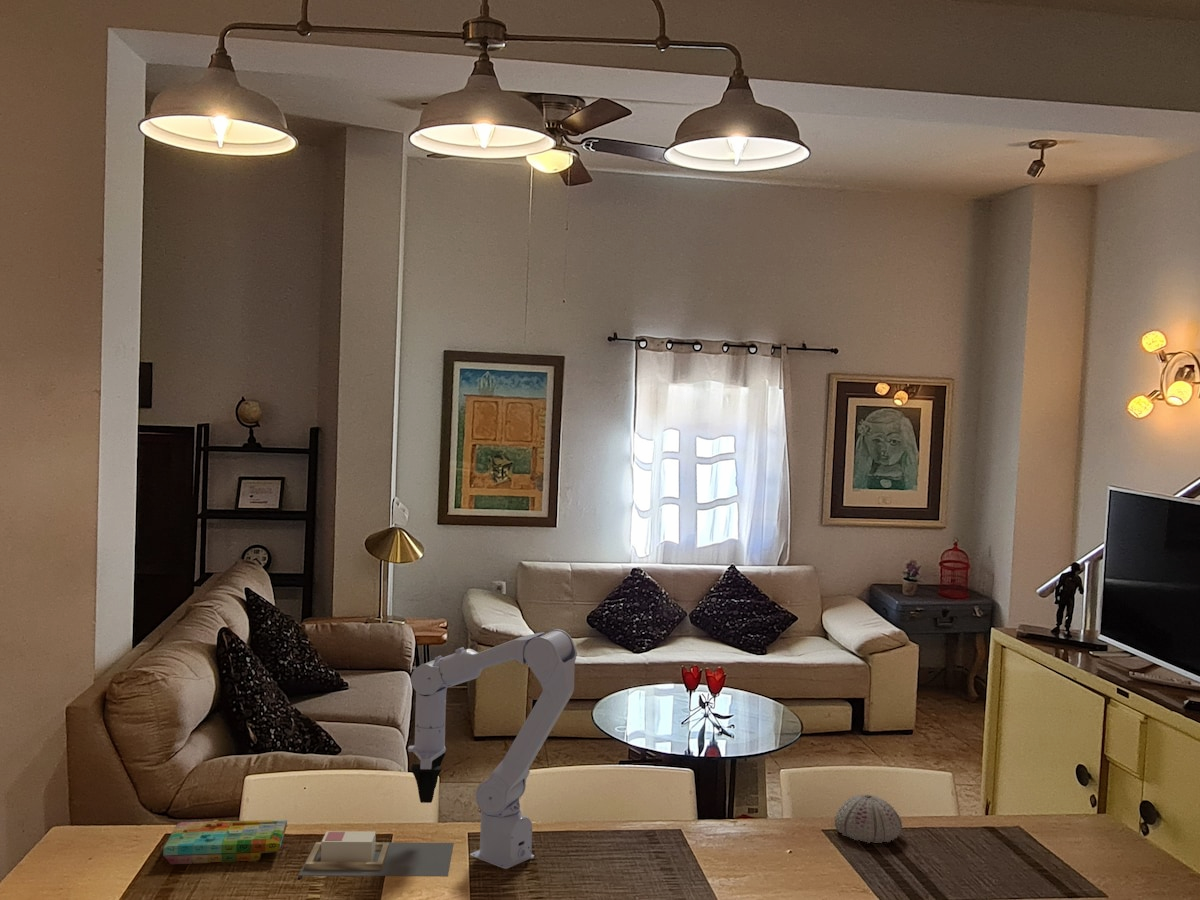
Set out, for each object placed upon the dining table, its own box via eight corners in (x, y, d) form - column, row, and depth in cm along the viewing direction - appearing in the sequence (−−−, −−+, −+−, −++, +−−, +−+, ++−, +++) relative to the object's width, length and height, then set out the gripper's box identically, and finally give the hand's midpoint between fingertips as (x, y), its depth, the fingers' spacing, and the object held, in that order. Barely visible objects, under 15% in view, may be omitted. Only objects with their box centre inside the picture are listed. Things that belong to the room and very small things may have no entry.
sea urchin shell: (875, 854, 205) (876, 813, 205) (819, 832, 215) (820, 793, 215) (914, 838, 213) (916, 799, 213) (859, 818, 224) (860, 780, 223)
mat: (453, 845, 202) (453, 842, 202) (447, 878, 187) (447, 875, 187) (315, 844, 200) (315, 842, 200) (298, 878, 185) (298, 875, 185)
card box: (375, 852, 196) (375, 831, 196) (371, 863, 191) (372, 841, 191) (325, 852, 195) (326, 830, 195) (320, 863, 190) (321, 841, 190)
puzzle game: (177, 818, 199) (287, 815, 203) (176, 843, 199) (286, 839, 203) (163, 842, 188) (279, 838, 191) (162, 869, 188) (279, 864, 191)
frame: (389, 847, 198) (389, 842, 198) (381, 869, 188) (381, 864, 188) (316, 847, 197) (316, 841, 197) (304, 869, 187) (305, 863, 187)
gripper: (413, 713, 209) (411, 782, 209) (404, 735, 194) (402, 808, 194) (449, 714, 209) (447, 782, 209) (443, 735, 195) (441, 808, 195)
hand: (428, 795), depth 202 cm, fingers open, 7 cm apart
